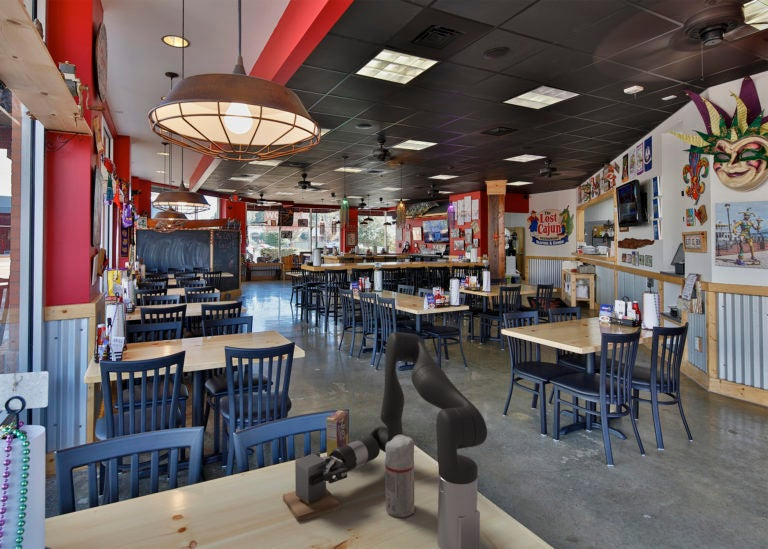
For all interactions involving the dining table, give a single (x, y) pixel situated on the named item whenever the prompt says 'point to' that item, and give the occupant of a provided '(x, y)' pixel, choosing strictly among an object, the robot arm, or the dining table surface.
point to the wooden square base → (310, 505)
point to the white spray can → (400, 476)
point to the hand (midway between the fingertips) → (303, 477)
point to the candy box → (337, 430)
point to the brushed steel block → (304, 472)
